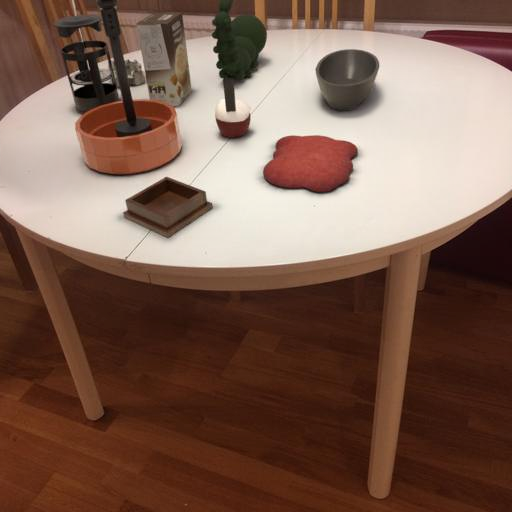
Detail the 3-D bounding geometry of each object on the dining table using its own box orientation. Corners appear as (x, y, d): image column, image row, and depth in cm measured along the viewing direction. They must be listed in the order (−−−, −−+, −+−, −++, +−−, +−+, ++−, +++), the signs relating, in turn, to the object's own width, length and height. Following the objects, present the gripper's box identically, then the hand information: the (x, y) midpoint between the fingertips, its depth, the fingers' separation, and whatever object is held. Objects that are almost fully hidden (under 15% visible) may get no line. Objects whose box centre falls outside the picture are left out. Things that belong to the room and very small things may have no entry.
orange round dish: (128, 186, 82) (119, 148, 78) (65, 160, 90) (54, 124, 86) (201, 146, 92) (196, 111, 88) (138, 126, 100) (131, 92, 96)
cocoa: (228, 122, 99) (222, 58, 92) (259, 126, 97) (255, 60, 90) (206, 144, 92) (198, 75, 85) (238, 148, 90) (233, 78, 83)
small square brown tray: (167, 237, 70) (164, 220, 68) (124, 217, 75) (119, 200, 73) (212, 207, 75) (210, 190, 74) (169, 190, 80) (166, 174, 78)
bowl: (308, 117, 99) (308, 84, 95) (323, 77, 116) (323, 48, 112) (373, 120, 97) (376, 87, 93) (379, 79, 113) (381, 49, 110)
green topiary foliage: (249, 96, 114) (275, 51, 131) (240, 4, 101) (270, -32, 119) (208, 94, 116) (239, 50, 134) (195, 4, 103) (231, -32, 121)
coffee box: (179, 107, 107) (167, 23, 97) (150, 106, 108) (135, 23, 98) (192, 90, 114) (182, 11, 104) (165, 90, 115) (152, 11, 105)
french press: (128, 108, 108) (102, -16, 94) (83, 119, 104) (49, -8, 90) (111, 92, 116) (85, -24, 102) (68, 102, 112) (35, -17, 98)
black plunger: (133, 148, 87) (102, 4, 73) (110, 140, 90) (76, 0, 76) (160, 135, 90) (135, -5, 77) (137, 127, 93) (109, -8, 80)
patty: (280, 138, 93) (280, 127, 91) (360, 143, 89) (361, 132, 88) (254, 187, 79) (253, 176, 78) (346, 196, 76) (347, 184, 75)
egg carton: (145, 85, 119) (142, 66, 116) (112, 89, 117) (108, 71, 115) (141, 70, 127) (138, 53, 124) (110, 74, 126) (106, 57, 123)
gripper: (55, -104, 74) (86, 26, 84) (53, -99, 63) (89, 49, 74) (109, -109, 75) (133, 20, 86) (116, -105, 64) (143, 42, 75)
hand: (113, 33), depth 79 cm, fingers closed on black plunger
